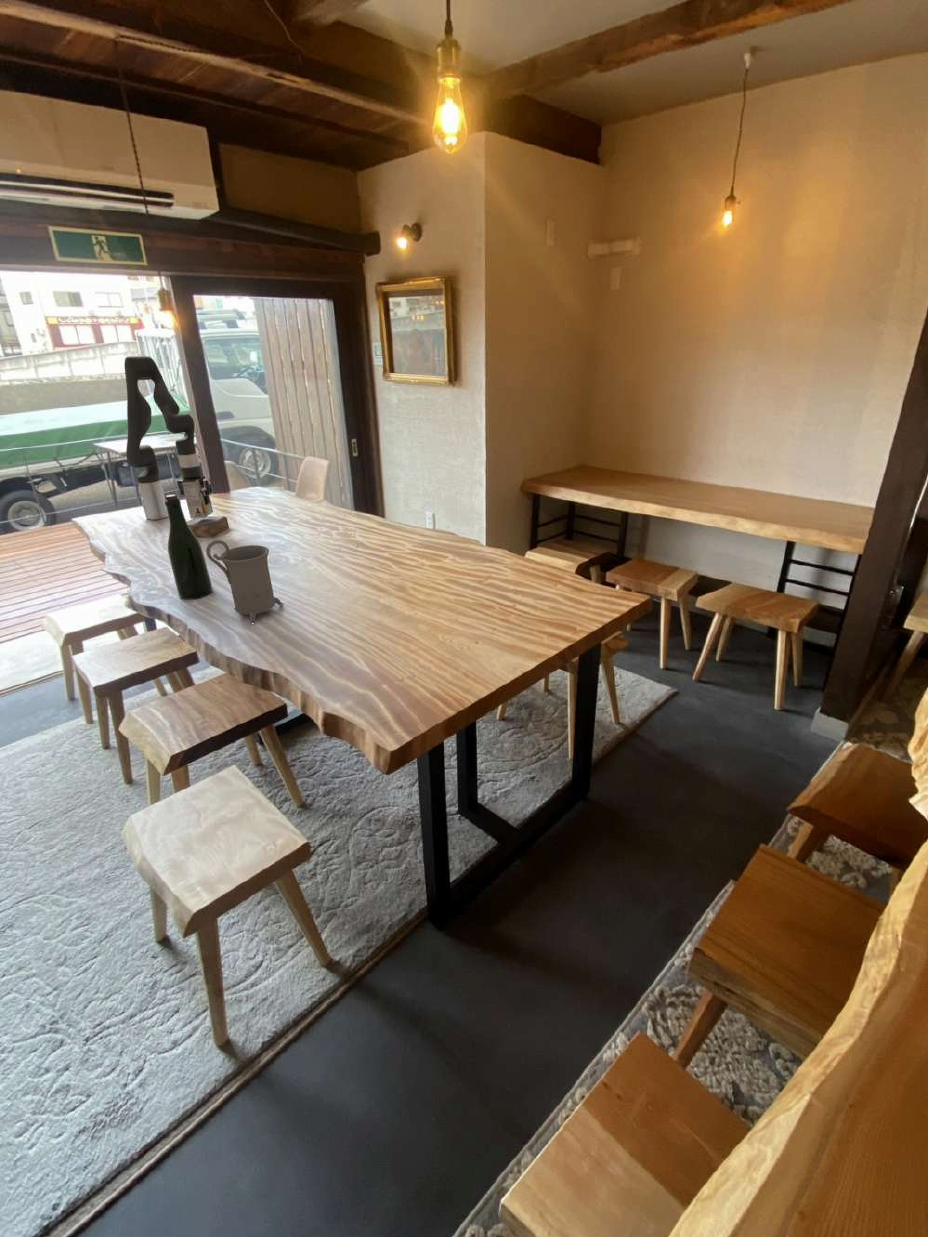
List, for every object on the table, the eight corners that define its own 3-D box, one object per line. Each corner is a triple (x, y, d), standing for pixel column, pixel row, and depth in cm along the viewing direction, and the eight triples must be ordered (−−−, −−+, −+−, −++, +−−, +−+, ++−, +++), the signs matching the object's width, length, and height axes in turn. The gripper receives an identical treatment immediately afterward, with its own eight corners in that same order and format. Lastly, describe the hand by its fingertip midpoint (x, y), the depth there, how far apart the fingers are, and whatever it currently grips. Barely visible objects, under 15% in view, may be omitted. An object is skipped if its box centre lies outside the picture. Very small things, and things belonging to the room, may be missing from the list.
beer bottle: (202, 584, 203) (178, 489, 188) (219, 591, 197) (195, 493, 182) (173, 595, 196) (145, 496, 181) (189, 602, 189) (162, 501, 175)
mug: (273, 597, 190) (259, 522, 179) (293, 612, 180) (278, 533, 169) (215, 615, 180) (195, 536, 169) (232, 631, 170) (212, 549, 159)
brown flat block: (182, 537, 252) (179, 525, 250) (199, 527, 264) (196, 515, 262) (213, 537, 250) (210, 525, 248) (229, 527, 262) (226, 515, 260)
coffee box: (199, 512, 258) (190, 475, 251) (213, 512, 258) (205, 475, 251) (190, 518, 250) (180, 480, 243) (205, 518, 250) (195, 480, 242)
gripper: (210, 462, 247) (219, 502, 254) (178, 463, 249) (188, 502, 256) (201, 466, 240) (210, 506, 247) (168, 467, 242) (178, 506, 249)
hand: (199, 504), depth 252 cm, fingers closed on coffee box, 6 cm apart
